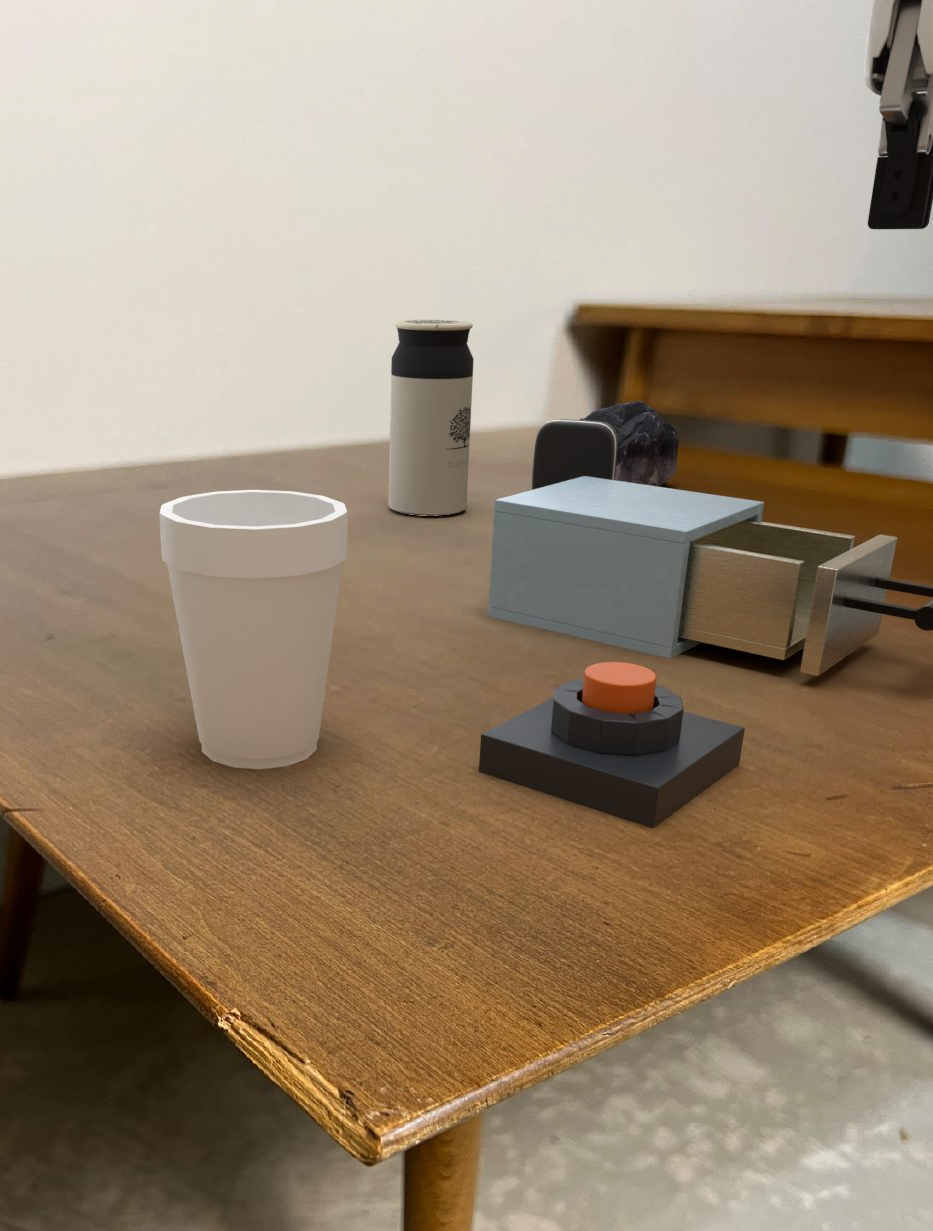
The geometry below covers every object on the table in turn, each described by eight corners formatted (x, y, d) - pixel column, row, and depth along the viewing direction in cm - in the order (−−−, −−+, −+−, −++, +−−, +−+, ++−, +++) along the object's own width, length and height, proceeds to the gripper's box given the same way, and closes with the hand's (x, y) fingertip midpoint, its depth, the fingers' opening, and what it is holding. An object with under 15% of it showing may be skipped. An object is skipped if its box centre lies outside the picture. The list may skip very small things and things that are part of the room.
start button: (665, 703, 62) (668, 671, 61) (632, 723, 59) (635, 690, 59) (603, 687, 64) (606, 656, 63) (568, 706, 61) (571, 673, 61)
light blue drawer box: (747, 618, 89) (764, 501, 85) (670, 659, 80) (686, 531, 76) (574, 582, 97) (583, 475, 94) (487, 616, 88) (494, 499, 85)
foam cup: (136, 754, 64) (119, 511, 59) (244, 703, 71) (238, 483, 66) (277, 797, 59) (273, 538, 54) (378, 739, 66) (383, 504, 61)
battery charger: (610, 551, 107) (624, 419, 102) (603, 560, 104) (617, 425, 99) (533, 543, 109) (543, 414, 105) (524, 553, 106) (534, 420, 101)
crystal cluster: (547, 476, 143) (547, 391, 139) (661, 468, 143) (665, 382, 138) (560, 508, 132) (560, 416, 127) (685, 500, 131) (690, 407, 126)
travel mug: (372, 508, 123) (375, 320, 115) (427, 498, 127) (433, 318, 120) (426, 521, 117) (433, 325, 110) (482, 510, 122) (492, 322, 115)
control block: (739, 765, 64) (750, 695, 62) (653, 829, 57) (662, 752, 55) (575, 719, 70) (581, 654, 68) (478, 772, 63) (482, 701, 61)
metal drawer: (967, 652, 79) (991, 550, 76) (914, 698, 71) (938, 586, 68) (695, 598, 90) (707, 507, 87) (622, 632, 82) (633, 534, 79)
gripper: (999, -181, 59) (928, 227, 66) (1057, -117, 70) (991, 228, 77) (844, -153, 63) (794, 229, 71) (921, -97, 74) (871, 229, 81)
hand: (897, 227), depth 74 cm, fingers closed
